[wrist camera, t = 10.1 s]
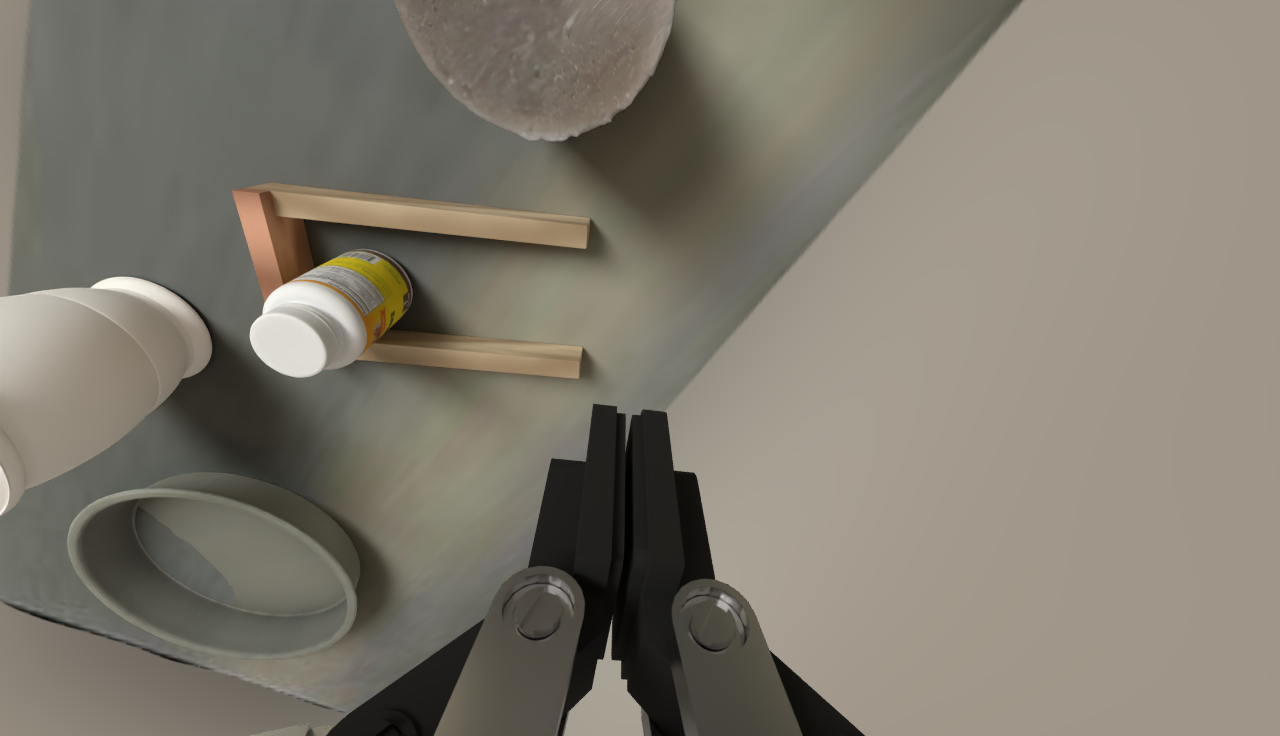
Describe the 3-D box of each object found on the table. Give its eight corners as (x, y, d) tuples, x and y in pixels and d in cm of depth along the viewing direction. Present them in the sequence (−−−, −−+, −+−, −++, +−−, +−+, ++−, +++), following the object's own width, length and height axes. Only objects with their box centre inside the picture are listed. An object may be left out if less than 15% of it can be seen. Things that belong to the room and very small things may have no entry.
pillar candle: (468, -63, 25) (291, -246, 12) (648, -93, 24) (669, -319, 11) (515, 137, 30) (426, 163, 17) (666, 115, 29) (696, 123, 16)
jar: (120, 231, 32) (-238, 314, 19) (258, 340, 36) (45, 471, 23) (47, 315, 35) (-308, 439, 21) (183, 408, 39) (-45, 559, 26)
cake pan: (164, 408, 39) (112, 441, 35) (422, 544, 48) (403, 583, 44) (80, 554, 47) (30, 594, 43) (312, 647, 56) (289, 688, 52)
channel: (271, 182, 30) (231, 190, 27) (590, 218, 32) (586, 229, 29) (311, 339, 36) (282, 360, 33) (581, 363, 38) (577, 385, 34)
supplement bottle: (378, 331, 36) (295, 406, 27) (320, 271, 33) (208, 332, 25) (432, 295, 34) (363, 362, 26) (375, 231, 32) (278, 279, 23)
